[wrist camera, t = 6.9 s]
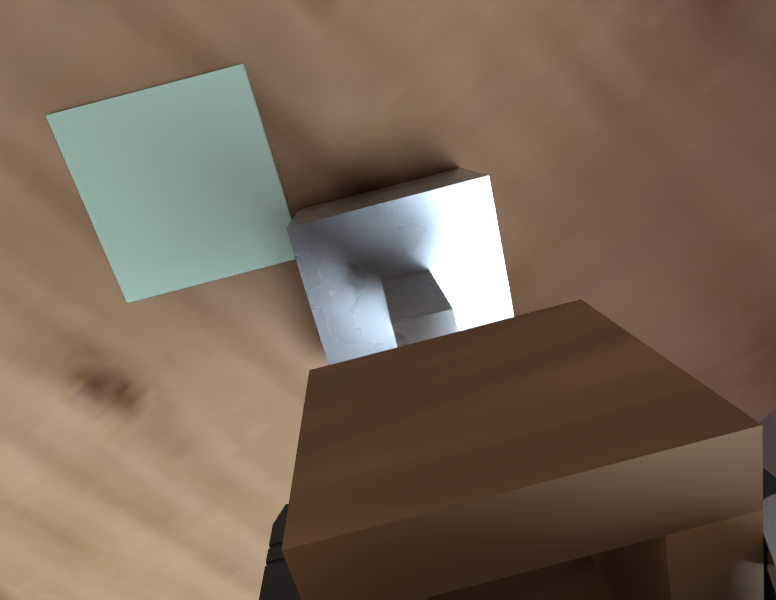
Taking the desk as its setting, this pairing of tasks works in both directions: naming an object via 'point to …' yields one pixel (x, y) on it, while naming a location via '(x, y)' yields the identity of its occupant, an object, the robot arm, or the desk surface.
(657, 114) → the desk surface
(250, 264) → the mat
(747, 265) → the desk surface
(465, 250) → the block
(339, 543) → the hollow wooden block
